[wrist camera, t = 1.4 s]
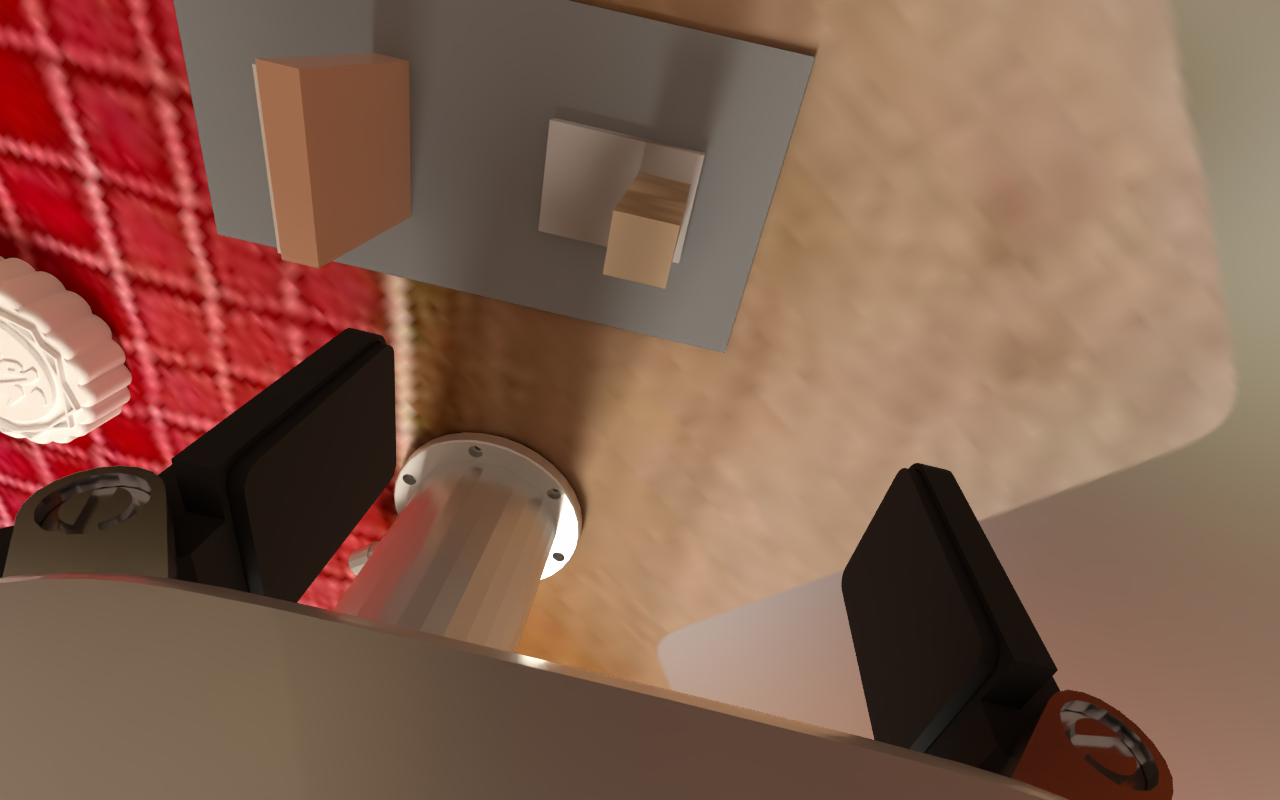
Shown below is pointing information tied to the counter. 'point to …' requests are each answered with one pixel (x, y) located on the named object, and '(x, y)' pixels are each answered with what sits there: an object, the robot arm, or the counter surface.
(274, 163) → the tile
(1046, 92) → the counter surface
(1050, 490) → the counter surface
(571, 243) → the mat
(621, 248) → the wooden stand
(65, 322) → the mooncake
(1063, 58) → the counter surface
